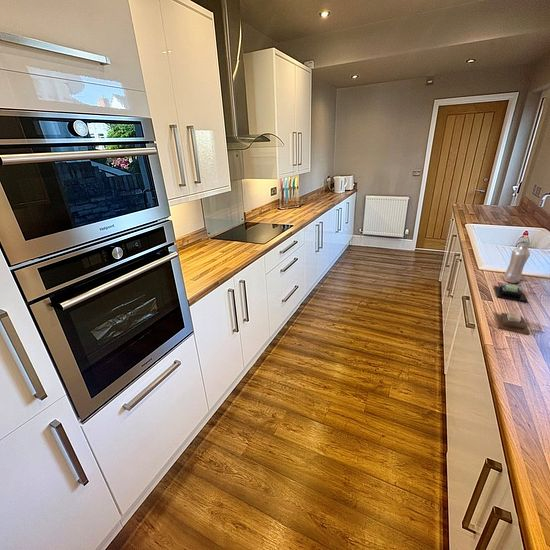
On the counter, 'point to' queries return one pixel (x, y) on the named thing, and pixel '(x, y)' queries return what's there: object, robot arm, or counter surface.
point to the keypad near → (511, 324)
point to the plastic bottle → (517, 263)
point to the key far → (511, 288)
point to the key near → (513, 317)
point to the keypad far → (509, 294)
